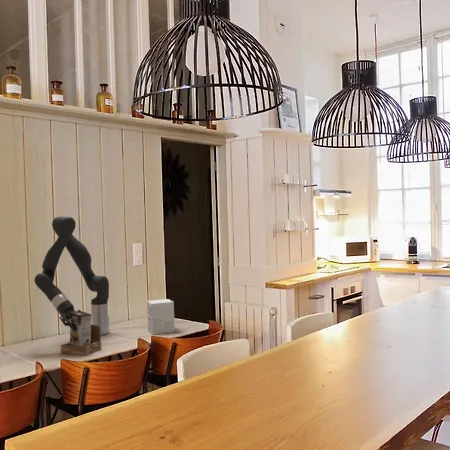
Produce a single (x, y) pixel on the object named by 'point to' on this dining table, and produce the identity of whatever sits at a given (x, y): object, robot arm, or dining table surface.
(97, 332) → the open walnut box
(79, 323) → the coffee box
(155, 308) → the supplement box
